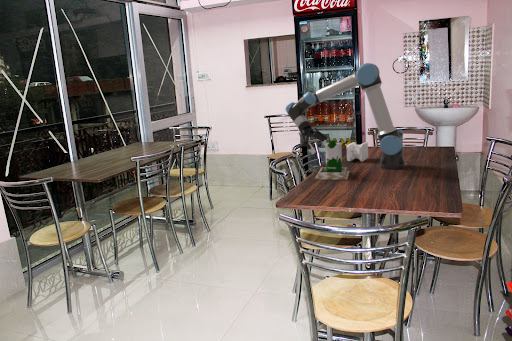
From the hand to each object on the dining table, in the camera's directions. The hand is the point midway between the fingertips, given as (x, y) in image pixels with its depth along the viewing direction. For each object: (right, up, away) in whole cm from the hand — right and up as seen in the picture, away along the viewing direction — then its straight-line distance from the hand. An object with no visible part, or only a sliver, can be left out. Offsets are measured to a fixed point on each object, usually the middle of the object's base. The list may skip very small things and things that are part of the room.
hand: (322, 151), depth 254 cm
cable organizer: (+29, -5, +36) cm, 47 cm away
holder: (+6, -15, -3) cm, 16 cm away
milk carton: (+7, -14, -2) cm, 15 cm away
